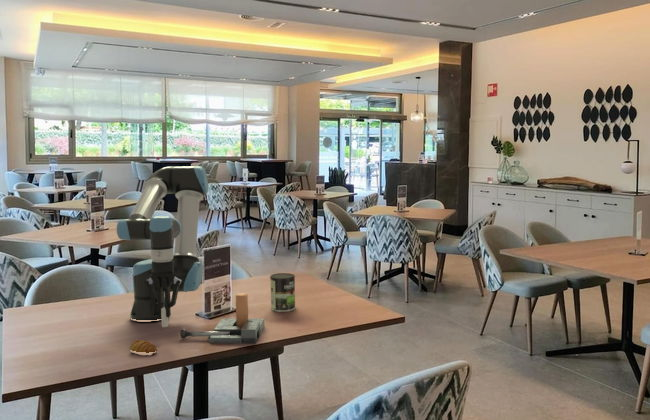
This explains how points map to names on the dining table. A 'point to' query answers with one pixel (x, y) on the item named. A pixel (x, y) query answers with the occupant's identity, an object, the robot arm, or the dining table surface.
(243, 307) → the wooden block
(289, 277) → the coffee can
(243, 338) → the dock
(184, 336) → the lock pin
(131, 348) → the pastry
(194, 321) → the dining table surface
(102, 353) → the dining table surface
